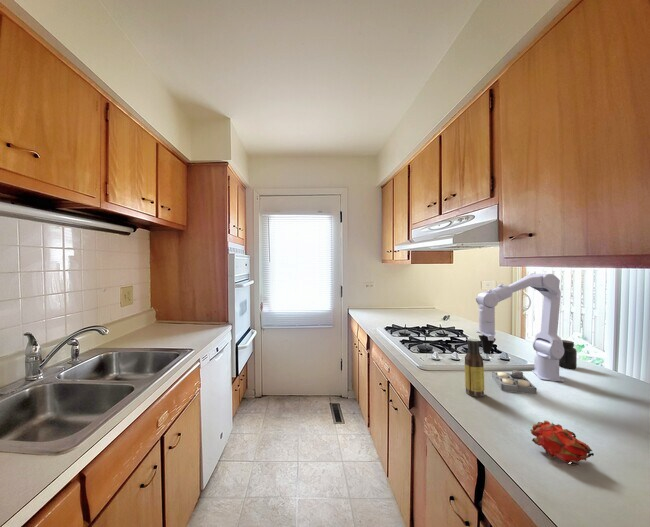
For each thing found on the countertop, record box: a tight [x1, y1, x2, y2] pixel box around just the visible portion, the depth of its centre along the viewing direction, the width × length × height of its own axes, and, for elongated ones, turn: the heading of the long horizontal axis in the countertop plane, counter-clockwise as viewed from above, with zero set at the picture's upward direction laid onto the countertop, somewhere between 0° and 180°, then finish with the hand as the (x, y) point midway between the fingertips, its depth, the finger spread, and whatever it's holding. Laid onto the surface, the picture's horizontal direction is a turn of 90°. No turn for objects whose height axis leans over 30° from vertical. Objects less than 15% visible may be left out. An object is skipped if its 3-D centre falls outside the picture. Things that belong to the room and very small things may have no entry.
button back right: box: [497, 371, 508, 378], centre depth 112 cm, size 4×4×2 cm
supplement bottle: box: [559, 339, 578, 370], centre depth 128 cm, size 7×7×12 cm
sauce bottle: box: [464, 338, 485, 398], centre depth 102 cm, size 6×6×20 cm
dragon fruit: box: [530, 420, 595, 466], centre depth 68 cm, size 8×8×12 cm
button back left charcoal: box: [511, 369, 524, 379], centre depth 111 cm, size 4×4×2 cm
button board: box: [491, 371, 538, 395], centre depth 109 cm, size 13×11×2 cm
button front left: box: [518, 380, 529, 386], centre depth 105 cm, size 4×4×2 cm
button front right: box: [502, 378, 513, 385], centre depth 106 cm, size 4×4×2 cm
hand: (486, 353), depth 115 cm, fingers closed
